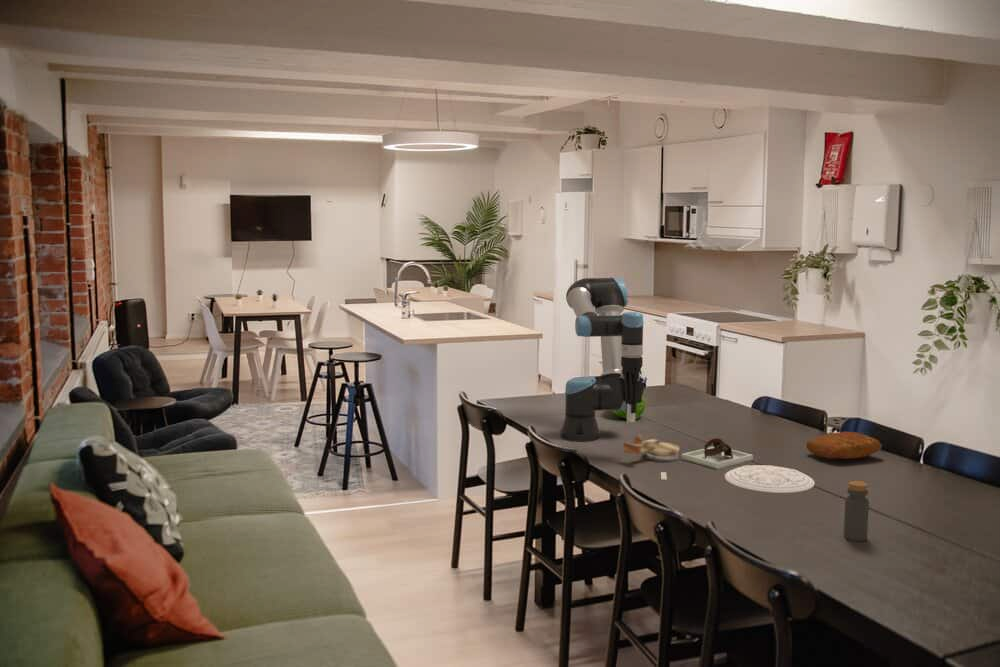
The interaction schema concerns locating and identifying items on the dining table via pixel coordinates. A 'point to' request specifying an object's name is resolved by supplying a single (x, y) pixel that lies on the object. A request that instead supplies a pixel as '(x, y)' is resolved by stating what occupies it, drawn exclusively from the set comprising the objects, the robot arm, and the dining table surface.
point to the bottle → (856, 512)
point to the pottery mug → (718, 448)
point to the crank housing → (662, 457)
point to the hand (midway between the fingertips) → (630, 421)
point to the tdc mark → (663, 476)
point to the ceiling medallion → (769, 479)
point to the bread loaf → (843, 445)
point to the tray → (716, 458)
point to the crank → (650, 447)
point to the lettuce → (639, 409)
